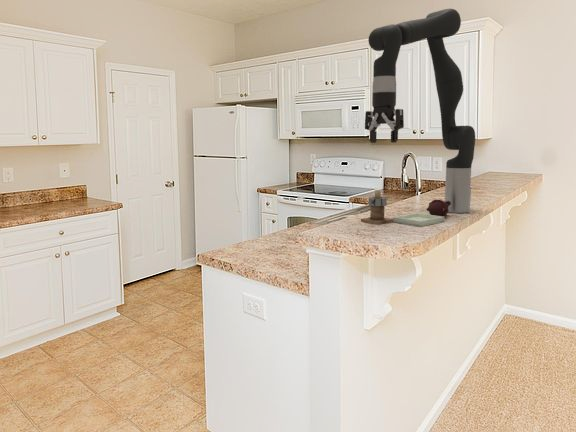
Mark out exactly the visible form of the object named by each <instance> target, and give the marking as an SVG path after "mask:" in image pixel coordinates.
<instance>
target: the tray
mask: <svg viewBox="0 0 576 432" xmlns="http://www.w3.org/2000/svg"><path fill="white" fill-rule="evenodd" d="M392 219H393V222H392V223H396V224H400V225H401V224H402V225H408V226H413V227H419V228H421V227H426V226H432V225H436V224H441V223H445V216H443V217H442V216H435V215H431V214H428V213H427V214H426V213H420V212H414V213H413V212H412V213H409V214H402V215H397V216H393V217H392Z"/></svg>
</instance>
